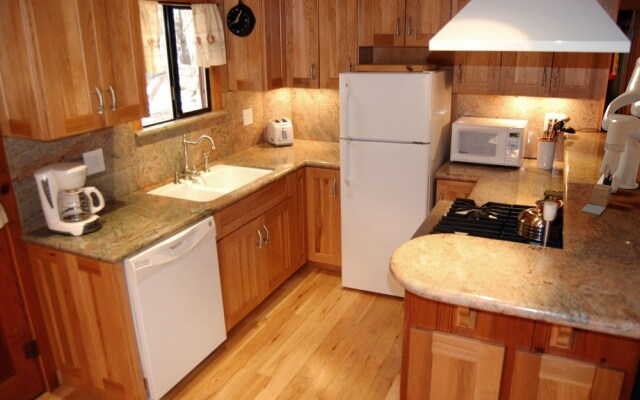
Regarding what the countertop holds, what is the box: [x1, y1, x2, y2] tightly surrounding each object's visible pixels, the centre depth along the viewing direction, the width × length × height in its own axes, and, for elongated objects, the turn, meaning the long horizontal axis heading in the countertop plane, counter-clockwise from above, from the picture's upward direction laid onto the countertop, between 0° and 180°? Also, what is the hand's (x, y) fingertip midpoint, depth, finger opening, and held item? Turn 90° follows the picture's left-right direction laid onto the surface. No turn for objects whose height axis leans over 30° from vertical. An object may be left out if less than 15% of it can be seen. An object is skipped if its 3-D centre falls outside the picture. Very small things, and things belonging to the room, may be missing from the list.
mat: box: [580, 203, 606, 216], centre depth 212 cm, size 10×7×1 cm
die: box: [596, 173, 622, 194], centre depth 232 cm, size 8×9×10 cm
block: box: [589, 183, 612, 208], centre depth 217 cm, size 6×6×8 cm
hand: (606, 188), depth 222 cm, fingers closed
